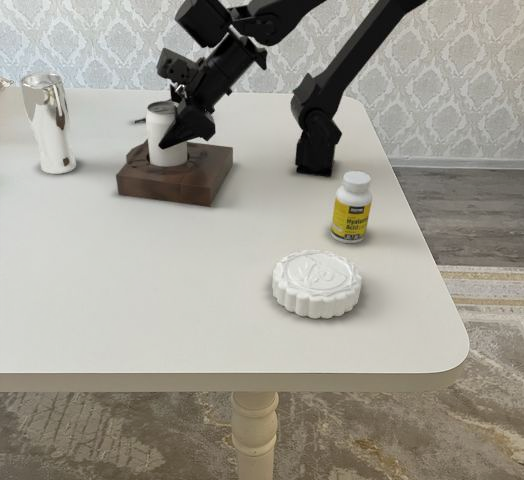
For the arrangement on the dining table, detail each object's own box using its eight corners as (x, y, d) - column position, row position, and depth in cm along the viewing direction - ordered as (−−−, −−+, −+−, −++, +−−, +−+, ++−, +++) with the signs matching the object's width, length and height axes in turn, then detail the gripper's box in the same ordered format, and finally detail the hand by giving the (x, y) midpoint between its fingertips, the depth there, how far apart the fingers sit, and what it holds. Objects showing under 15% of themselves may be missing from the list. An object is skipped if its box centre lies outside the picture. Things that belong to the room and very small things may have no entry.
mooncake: (253, 292, 81) (254, 270, 78) (308, 257, 87) (310, 236, 85) (323, 332, 75) (326, 310, 72) (376, 292, 82) (380, 270, 79)
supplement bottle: (342, 247, 90) (351, 188, 83) (323, 230, 93) (331, 172, 87) (371, 239, 92) (383, 181, 85) (352, 223, 95) (361, 165, 89)
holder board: (233, 165, 109) (233, 146, 107) (210, 207, 97) (209, 187, 95) (144, 154, 111) (142, 135, 109) (112, 193, 99) (109, 174, 97)
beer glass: (68, 177, 103) (50, 88, 93) (31, 172, 104) (10, 84, 94) (85, 160, 108) (70, 74, 98) (49, 156, 109) (31, 70, 99)
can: (192, 181, 104) (188, 112, 96) (155, 186, 102) (148, 116, 94) (183, 165, 108) (179, 98, 100) (148, 169, 106) (141, 101, 98)
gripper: (179, 14, 97) (120, 87, 102) (190, 49, 83) (121, 129, 89) (227, 64, 103) (169, 129, 109) (245, 103, 90) (177, 175, 96)
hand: (159, 139), depth 100 cm, fingers closed on can, 6 cm apart
